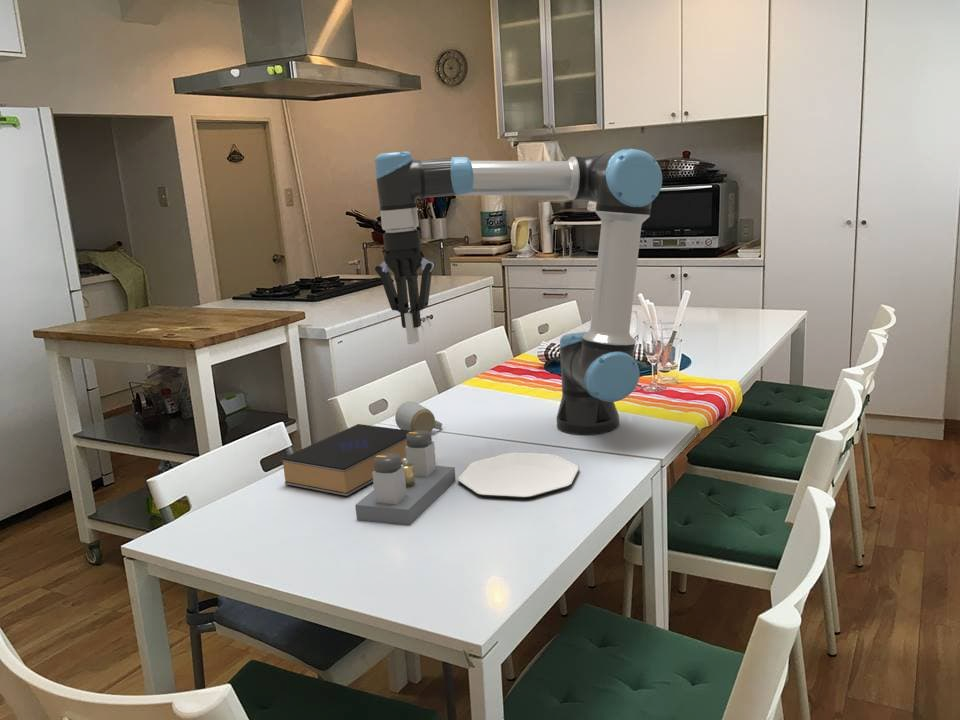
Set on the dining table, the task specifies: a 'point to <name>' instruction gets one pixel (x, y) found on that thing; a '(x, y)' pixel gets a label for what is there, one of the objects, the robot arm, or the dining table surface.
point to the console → (406, 489)
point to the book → (343, 459)
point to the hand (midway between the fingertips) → (413, 342)
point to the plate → (518, 475)
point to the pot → (408, 473)
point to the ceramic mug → (415, 417)
